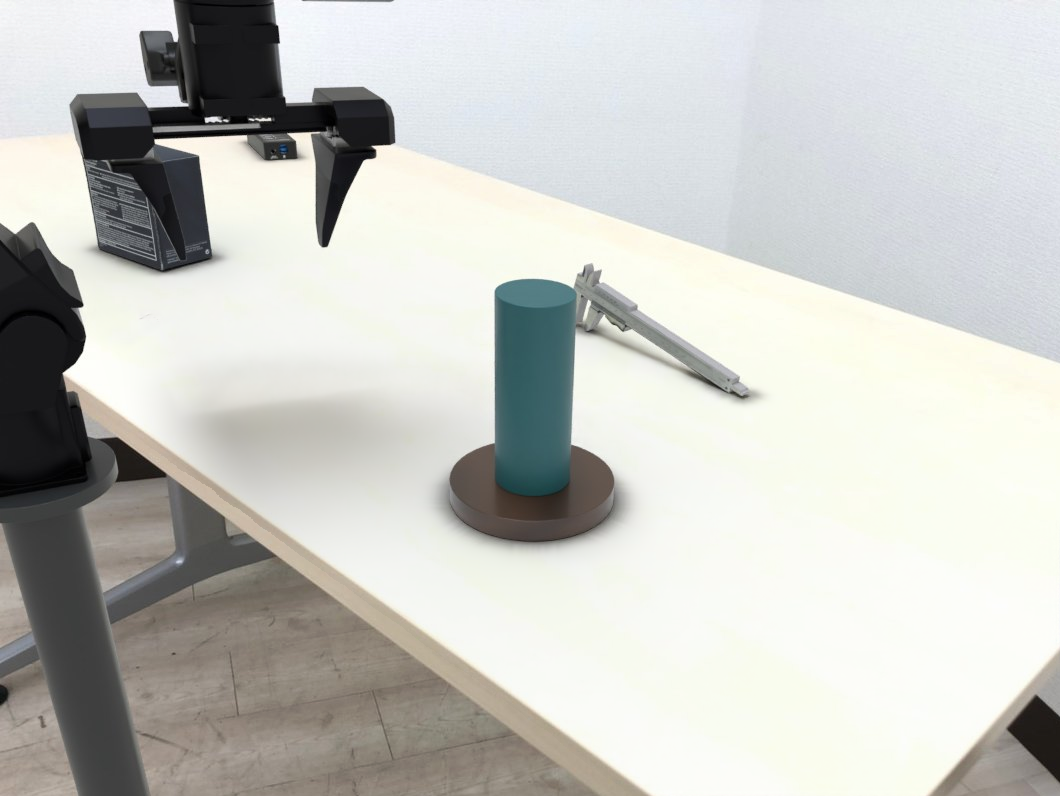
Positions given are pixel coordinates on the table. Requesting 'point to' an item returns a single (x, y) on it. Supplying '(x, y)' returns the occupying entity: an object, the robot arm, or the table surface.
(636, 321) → the caliper
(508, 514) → the walnut chip
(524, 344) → the cylinder
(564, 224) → the table surface
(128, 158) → the robot arm
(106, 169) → the small box
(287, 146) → the multiport hub
